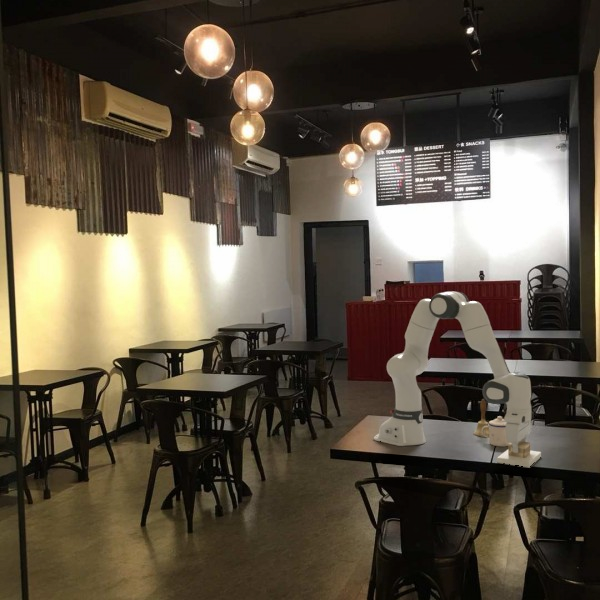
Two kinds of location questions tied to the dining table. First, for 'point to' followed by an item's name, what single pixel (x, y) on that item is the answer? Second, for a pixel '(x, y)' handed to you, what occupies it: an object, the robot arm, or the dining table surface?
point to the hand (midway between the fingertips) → (519, 449)
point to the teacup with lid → (497, 432)
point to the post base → (519, 459)
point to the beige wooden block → (520, 449)
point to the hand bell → (482, 421)
